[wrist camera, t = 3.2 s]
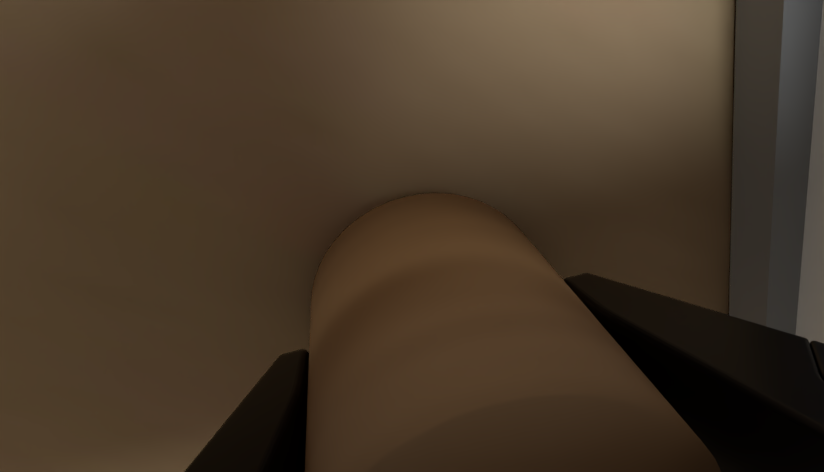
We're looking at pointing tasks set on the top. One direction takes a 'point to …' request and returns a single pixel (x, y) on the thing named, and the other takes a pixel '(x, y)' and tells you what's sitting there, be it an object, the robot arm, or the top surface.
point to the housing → (778, 167)
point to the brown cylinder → (471, 357)
